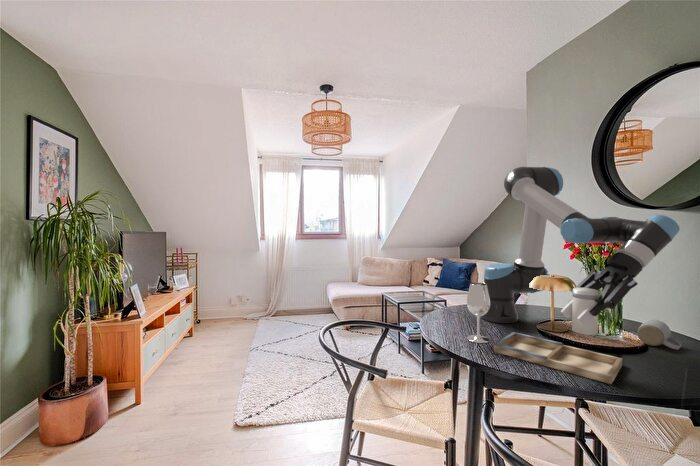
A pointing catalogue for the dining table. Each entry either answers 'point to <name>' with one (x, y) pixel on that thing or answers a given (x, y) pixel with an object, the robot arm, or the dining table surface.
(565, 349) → the bay tray
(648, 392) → the dining table surface
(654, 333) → the ceramic mug
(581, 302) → the domed white canister
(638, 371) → the dining table surface
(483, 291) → the wineglass
